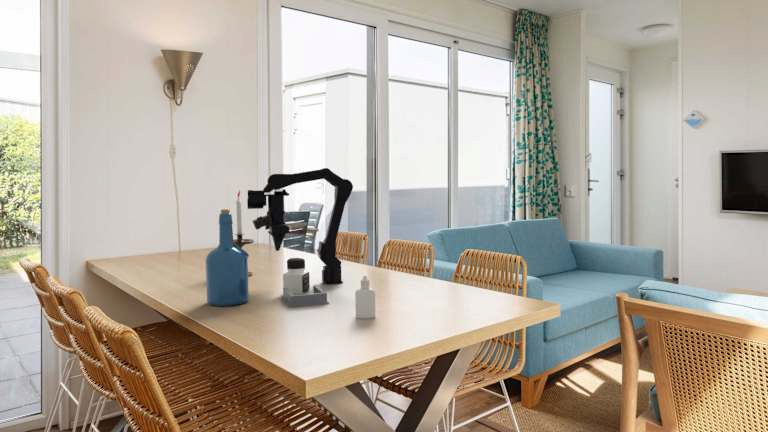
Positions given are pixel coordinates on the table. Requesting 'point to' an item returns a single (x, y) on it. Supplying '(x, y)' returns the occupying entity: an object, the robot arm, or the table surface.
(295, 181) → the robot arm
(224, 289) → the wine bottle
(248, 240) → the candlestick
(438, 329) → the table surface
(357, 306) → the eye dropper bottle
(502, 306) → the table surface
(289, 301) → the u rest
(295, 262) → the medicine bottle
